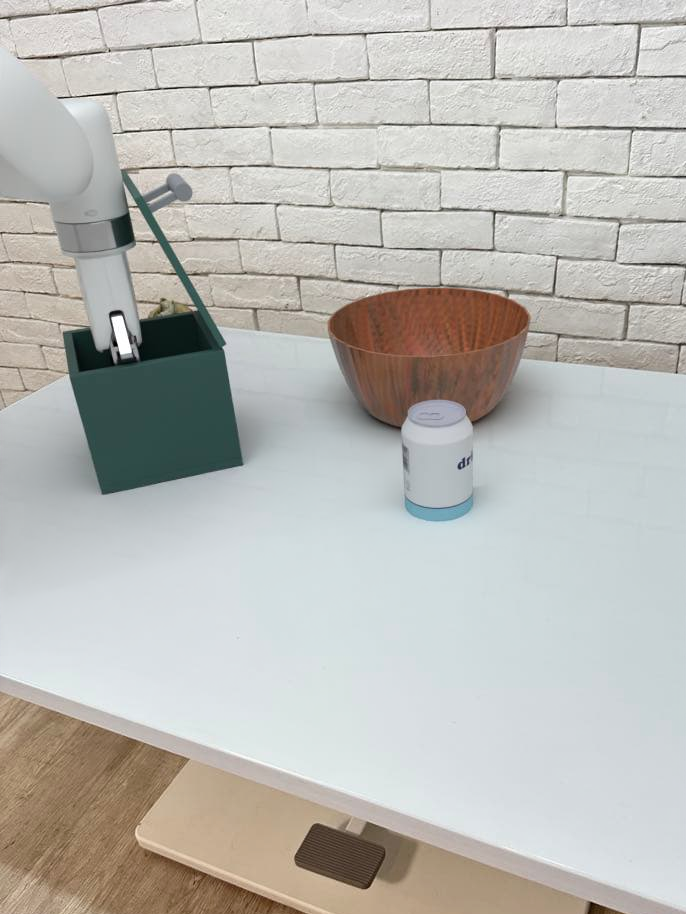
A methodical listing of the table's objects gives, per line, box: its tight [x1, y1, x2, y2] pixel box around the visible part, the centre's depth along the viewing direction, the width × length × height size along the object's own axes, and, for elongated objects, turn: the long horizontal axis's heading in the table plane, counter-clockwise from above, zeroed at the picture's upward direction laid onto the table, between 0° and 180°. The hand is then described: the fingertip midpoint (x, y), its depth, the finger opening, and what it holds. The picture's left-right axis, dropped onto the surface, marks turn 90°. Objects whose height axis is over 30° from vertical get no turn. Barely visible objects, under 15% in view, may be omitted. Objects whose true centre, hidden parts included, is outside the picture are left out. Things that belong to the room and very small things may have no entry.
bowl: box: [326, 287, 532, 428], centre depth 108 cm, size 25×25×12 cm
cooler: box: [62, 309, 244, 495], centre depth 99 cm, size 16×15×14 cm
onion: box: [147, 297, 194, 318], centre depth 131 cm, size 8×8×8 cm
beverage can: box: [400, 400, 474, 523], centre depth 84 cm, size 7×7×12 cm
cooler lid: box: [121, 169, 227, 348], centre depth 92 cm, size 17×15×6 cm
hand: (133, 394), depth 98 cm, fingers closed on cup, 5 cm apart
